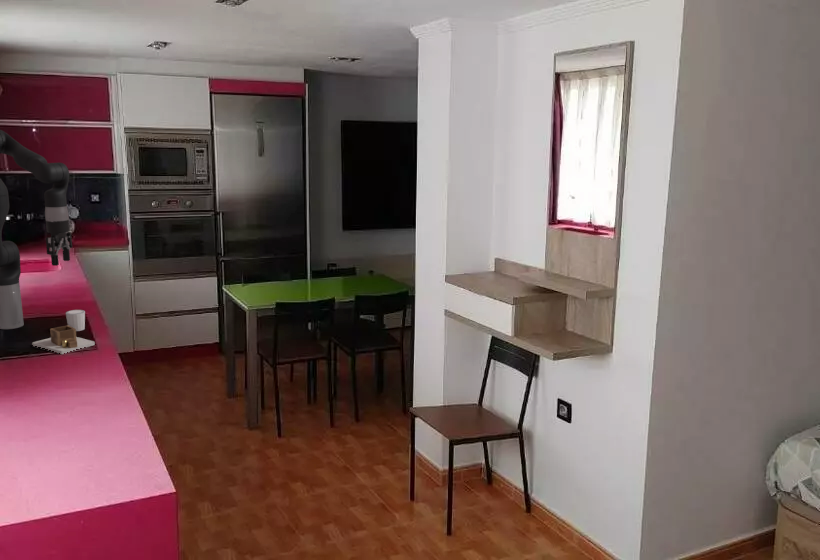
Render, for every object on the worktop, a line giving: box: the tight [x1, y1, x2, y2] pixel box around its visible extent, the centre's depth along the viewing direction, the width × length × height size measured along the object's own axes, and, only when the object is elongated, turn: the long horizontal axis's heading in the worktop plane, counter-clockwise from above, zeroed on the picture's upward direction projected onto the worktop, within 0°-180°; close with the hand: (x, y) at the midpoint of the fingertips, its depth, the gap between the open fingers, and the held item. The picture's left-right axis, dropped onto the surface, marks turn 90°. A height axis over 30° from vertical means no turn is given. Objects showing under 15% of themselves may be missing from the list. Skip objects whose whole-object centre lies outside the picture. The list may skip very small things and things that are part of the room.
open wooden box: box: [49, 324, 77, 348], centre depth 259 cm, size 12×6×5 cm, turn 47°
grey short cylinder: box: [65, 309, 86, 332], centre depth 281 cm, size 7×7×7 cm
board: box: [31, 336, 96, 355], centre depth 262 cm, size 17×13×1 cm
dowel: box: [62, 340, 67, 348], centre depth 256 cm, size 2×2×2 cm
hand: (61, 263), depth 266 cm, fingers open, 8 cm apart
